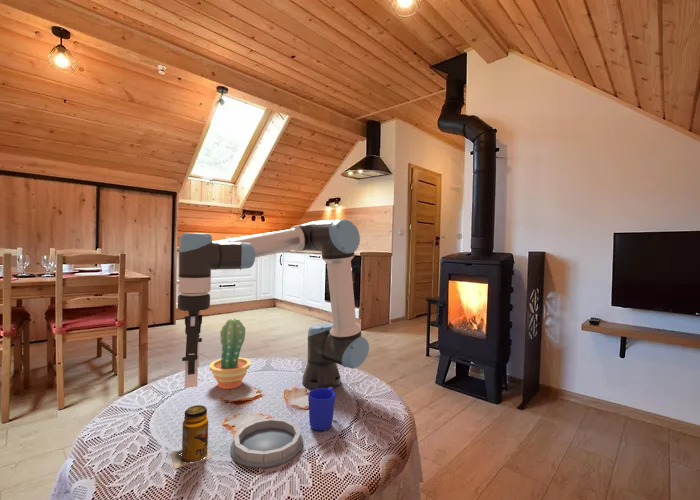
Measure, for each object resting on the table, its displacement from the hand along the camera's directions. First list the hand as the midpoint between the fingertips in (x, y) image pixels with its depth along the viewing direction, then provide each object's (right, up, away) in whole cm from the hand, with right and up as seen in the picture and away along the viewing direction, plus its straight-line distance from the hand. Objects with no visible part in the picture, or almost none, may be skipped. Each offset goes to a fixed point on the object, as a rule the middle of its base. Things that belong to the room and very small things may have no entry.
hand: (192, 376), depth 88 cm
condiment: (0, -21, 0) cm, 21 cm away
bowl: (+18, -21, +6) cm, 28 cm away
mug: (+32, -21, +18) cm, 43 cm away
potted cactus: (-6, -20, +45) cm, 50 cm away
